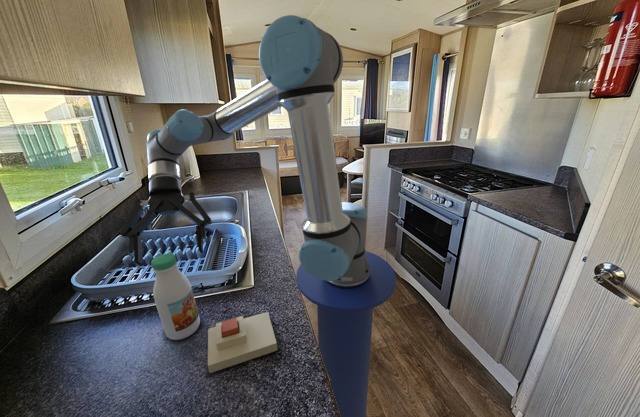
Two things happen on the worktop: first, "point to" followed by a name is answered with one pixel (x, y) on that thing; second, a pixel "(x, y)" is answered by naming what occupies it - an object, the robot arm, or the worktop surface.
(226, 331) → the red switch button
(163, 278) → the milk bottle
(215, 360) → the light switch
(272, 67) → the robot arm
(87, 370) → the worktop surface
